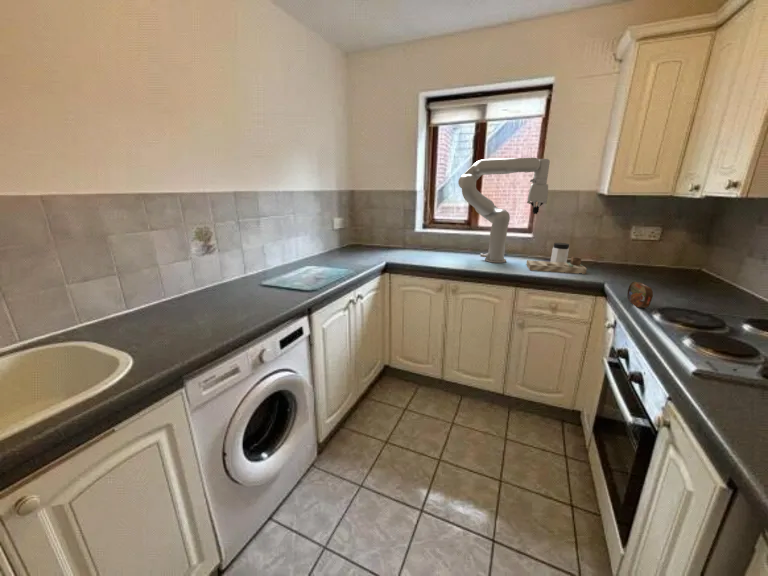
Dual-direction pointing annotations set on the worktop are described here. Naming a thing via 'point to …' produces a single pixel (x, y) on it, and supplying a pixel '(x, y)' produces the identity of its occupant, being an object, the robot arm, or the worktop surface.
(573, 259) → the block
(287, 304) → the worktop surface
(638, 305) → the tin
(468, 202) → the robot arm
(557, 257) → the jar
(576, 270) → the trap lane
